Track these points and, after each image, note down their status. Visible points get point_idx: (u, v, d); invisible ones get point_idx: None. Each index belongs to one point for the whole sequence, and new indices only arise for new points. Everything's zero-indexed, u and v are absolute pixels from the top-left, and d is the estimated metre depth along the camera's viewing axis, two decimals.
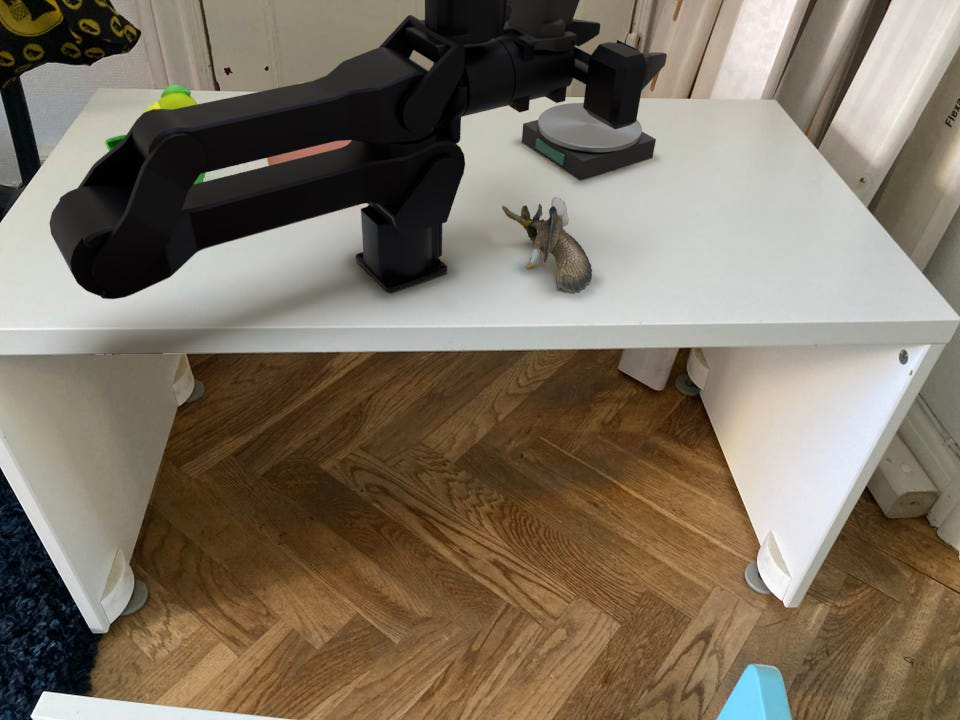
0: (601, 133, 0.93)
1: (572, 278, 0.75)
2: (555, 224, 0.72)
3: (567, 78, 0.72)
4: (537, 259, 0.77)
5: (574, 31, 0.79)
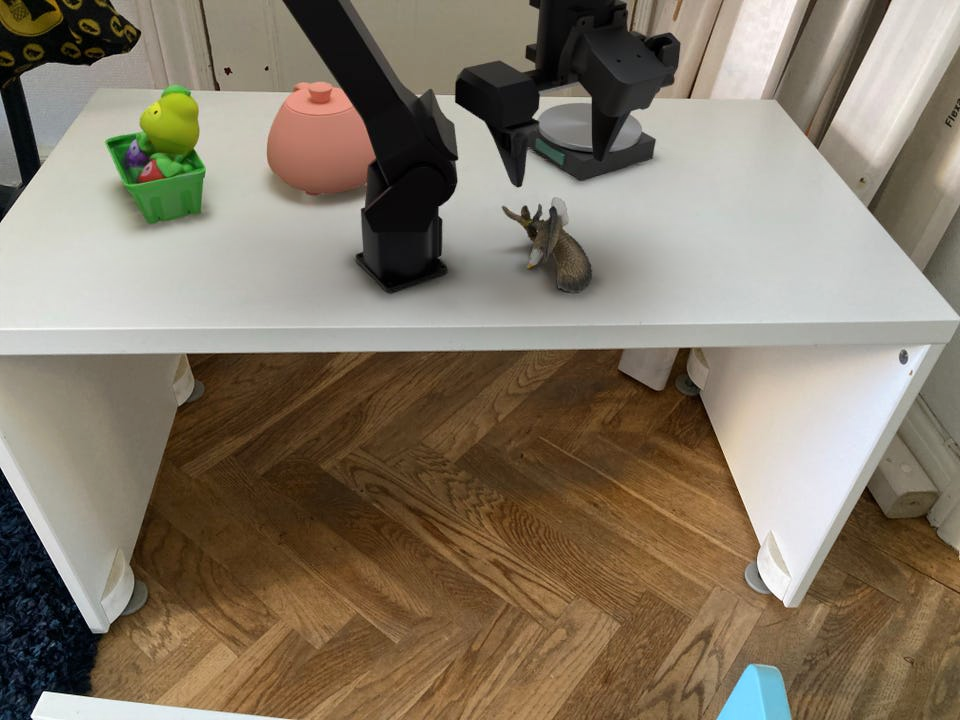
0: None
1: (572, 278, 0.75)
2: (555, 224, 0.72)
3: (539, 62, 0.64)
4: (537, 259, 0.77)
5: (604, 128, 0.72)
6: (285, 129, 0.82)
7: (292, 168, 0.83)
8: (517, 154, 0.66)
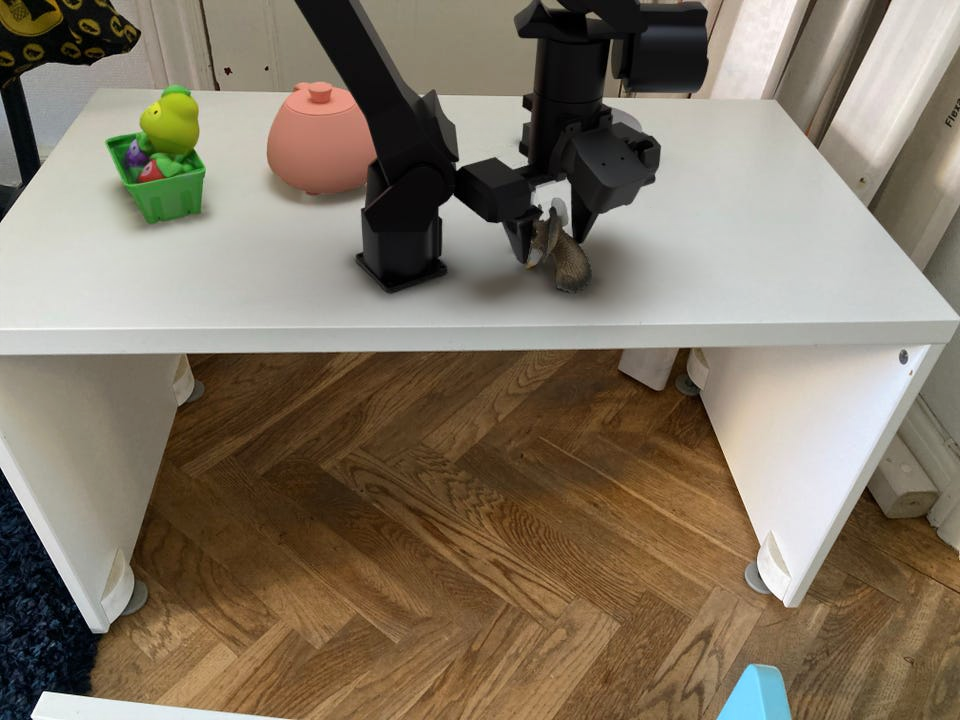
0: None
1: (572, 278, 0.75)
2: (555, 224, 0.72)
3: (531, 158, 0.69)
4: (537, 259, 0.77)
5: (583, 214, 0.76)
6: (285, 129, 0.82)
7: (292, 168, 0.83)
8: (523, 237, 0.72)
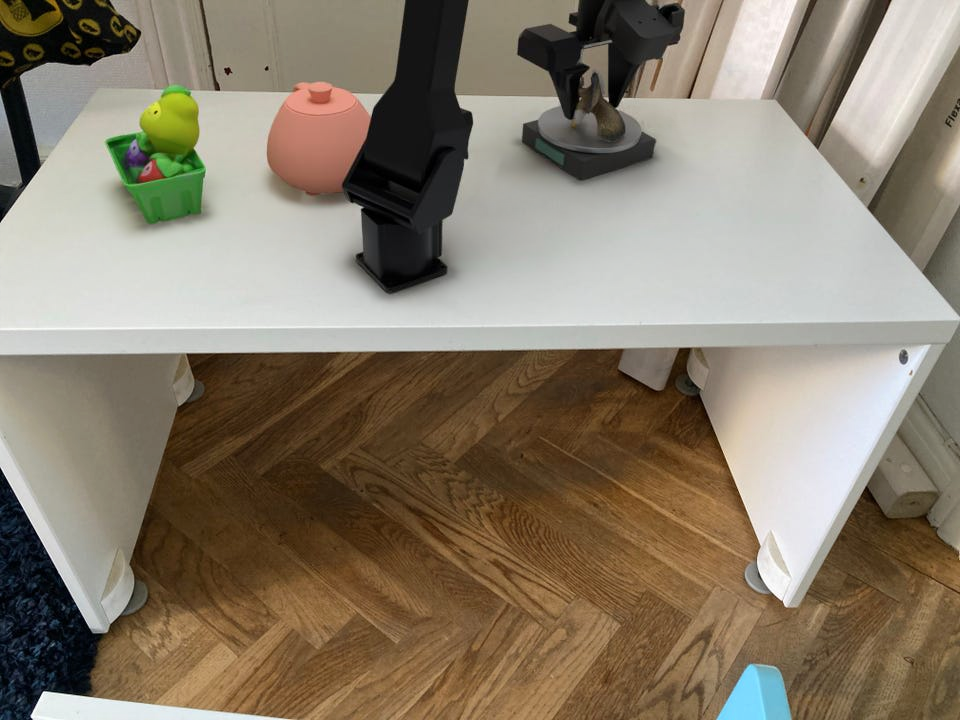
0: None
1: (610, 131, 0.92)
2: (597, 83, 0.89)
3: (579, 25, 0.86)
4: (580, 118, 0.94)
5: (618, 81, 0.93)
6: (285, 129, 0.82)
7: (292, 168, 0.83)
8: (571, 92, 0.89)
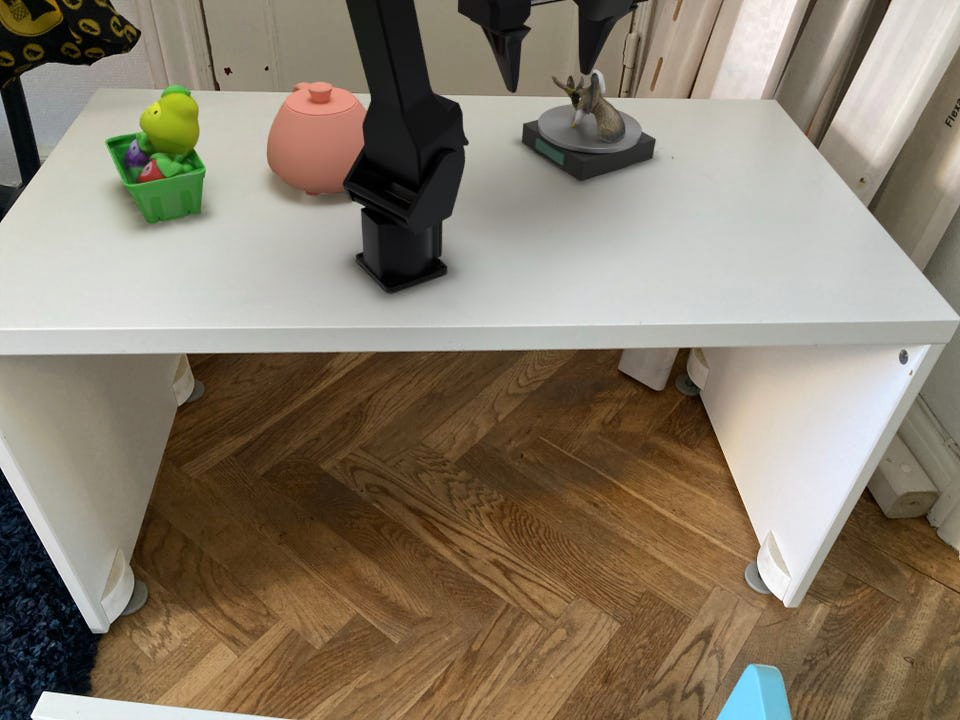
0: None
1: (610, 131, 0.92)
2: (597, 83, 0.89)
3: None
4: (580, 118, 0.94)
5: (589, 43, 0.81)
6: (285, 129, 0.82)
7: (292, 168, 0.83)
8: (512, 59, 0.75)
